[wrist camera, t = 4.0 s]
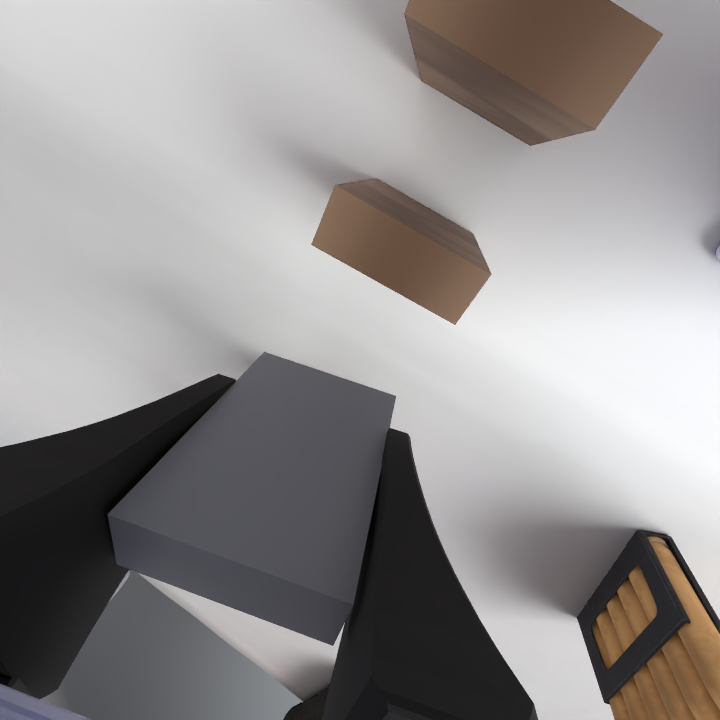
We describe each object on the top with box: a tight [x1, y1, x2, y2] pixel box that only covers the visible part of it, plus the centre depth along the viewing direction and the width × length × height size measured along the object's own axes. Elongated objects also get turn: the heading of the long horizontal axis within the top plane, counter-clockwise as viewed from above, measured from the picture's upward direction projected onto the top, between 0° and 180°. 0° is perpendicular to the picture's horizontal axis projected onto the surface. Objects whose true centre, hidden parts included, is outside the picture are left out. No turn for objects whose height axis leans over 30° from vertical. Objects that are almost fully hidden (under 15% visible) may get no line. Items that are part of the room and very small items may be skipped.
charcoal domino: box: [108, 352, 396, 646], centre depth 10 cm, size 5×2×7 cm, turn 75°
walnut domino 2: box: [404, 0, 663, 146], centre depth 11 cm, size 5×2×7 cm, turn 64°
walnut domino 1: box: [311, 178, 491, 325], centre depth 13 cm, size 5×2×7 cm, turn 64°
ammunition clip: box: [577, 531, 720, 720], centre depth 19 cm, size 11×2×12 cm, turn 177°
